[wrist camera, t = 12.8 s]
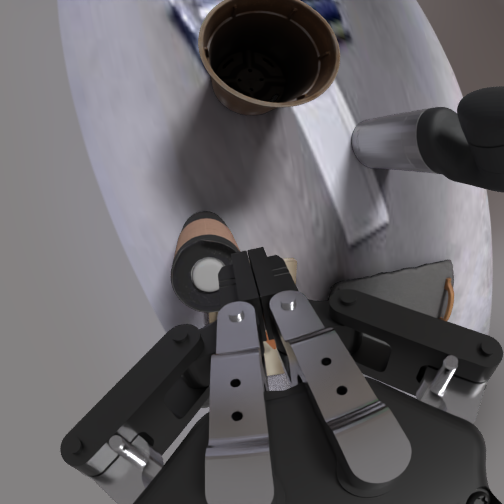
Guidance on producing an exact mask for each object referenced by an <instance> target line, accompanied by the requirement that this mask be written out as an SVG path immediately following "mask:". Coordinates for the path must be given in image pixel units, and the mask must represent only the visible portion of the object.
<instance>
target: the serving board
mask: <svg viewBox="0 0 504 504" xmlns="http://www.w3.org/2000/svg"><path fill="white" fill-rule="evenodd" d="M453 285H454V275H453V265H452V262H451V260H444V261H439V262H434V263H430V264H424V265H421V266H418V267H415V268H414V267H413V268H403V269H401V270H397V271H393V272H385V273H382V272H381V273H378V274H376V275H373V276H371V277H364V278H357V279H352V280H346V281H341V282H339V283H337V284H335V285H333V286H332V287H331V294H330V297H331V296H332V295H333V294H334V293H335V292H337V291H339V290H343V289H353V290H357V291H360V292H363V293H366V294H369V295H372V296H374V297H377V298H380V299H383V300H386V301H389V302H392V303H395V304H398V305H400V306H403V307H406V308H409V309H412V310H415V311H418V312H421V313H424V314H427V315H430V316H432V317H435V318H438V319H441V320H444V321H447V320H448V319H449V317H450V315H451V312H452V308H453V303H454V291H453ZM330 297H329V299H328V301H330ZM363 336H365V337H368V338H370V339H373V340H375V341H378V342H380V343H383V344H385V345H388V346H389V344H387V343H386V342H384V341H382V340H379V339H377V338H374V337H372V336H369V335H367V334H364V333H363Z"/></svg>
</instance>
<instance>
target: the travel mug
mask: <svg viewBox="0 0 504 504" xmlns="http://www.w3.org/2000/svg"><path fill="white" fill-rule="evenodd" d="M237 252H240V250H239V248H238V246H237V243H236V241H235V239H234V237H233V235H232V233H231V231H230V230H229V228H228V227H227V225H226V224H225V223H224V221H223V220H222V219H221V218H220V217H219V216H218V215H216V214H215V213H212V212H208V211H202V212H198V213H195V214H193V215H192V216H191V217H189V219H188V220H187V221H186V223H185V224H184V226H183V229H182V231H181V233H180V236H179V238H178V243H177V247H176V251H175V256H174V260H173V265H172V269H171V282H172V287H173V289H174V292H175V294H176V295H177V297H178V298H179V299H180V300H181V301H182V302H183V303H184V304H185V305H186V306H188V307H190V308H192V309H194V310H197V311H200V312H207V313H210V312H218V311H220V310H221V305H220V293H219V281H218V273H219V271H220V269H221V267H223V266H228V265H232V264H233V263H232V257H231V254H233V253H237Z"/></svg>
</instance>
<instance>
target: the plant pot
mask: <svg viewBox="0 0 504 504" xmlns="http://www.w3.org/2000/svg"><path fill="white" fill-rule="evenodd" d="M198 46H199V53H200V57H201V59H202V62H203V64H204V67H205V68H206V70H207V71H208V73H209V75H210V76H211V80H212V86H213V90H214V93H215V95H216V96H217V98H218V99H219V100H220V102H221V103H222V104H223V105H224V106H226V107H227V108H229V109H230V110H232V111H234V112H236V113H239V114H243V115H259V114H264V113H266V112H269V111H271V110H273V109H275V108H277V107H291V106H297V105H301V104H304V103H307V102H309V101H311V100H314V99H315V98H317V97H319V96H320V95H321V94H323V93H324V92H325V91H326V90H327V89H328V88H329V87H330V85H331V84H332V83H333V81H334V79H335V77H336V75H337V72H338V69H339V64H340V50H339V45H338V41H337V39H336V36H335V34H334V32H333V30H332V29H331V27H330V25H329V24H328V23H327V21H326V20H325V19H324V18H323V17H322V16H321V15H320V14H319V13H317V12H316V11H315V10H314V9H313V8H311V7H310V6H308V5H307V4H305V3H304V2H302V1H300V0H224V1H222V2H221V3H219V4H218V5H216V6H215V7H214V8H213V9H212V10H211V11H210V12H209V13H208V15H207V16H206V18H205V19H204V21H203V23H202V25H201V28H200V32H199V38H198ZM231 58H233V59H234V60H233V62H231V63H230V64H229V65H227V66H226V68H224V69H223V65H224V64H225V63H226V62H227V61H228V60H230V59H231ZM263 58H265V59H267V60H268V61H270V62H271V63H272V64H273V65H274V66H275V68H273V67H271V66H270V65H269V64H268V63H267V62H265V61H263ZM248 69H252V72H249V71H248ZM260 78H263V79H264V81H263V82H261V81H260ZM238 79H241V80H242V81H241V82H238ZM250 88H253V91H252V92H251V91H250V90H249V89H250ZM275 94H278V97H277V98H276V99H275V100H274V101H273V102H269V101H270V100H271V99H272V98H273V96H274V95H275Z"/></svg>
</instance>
